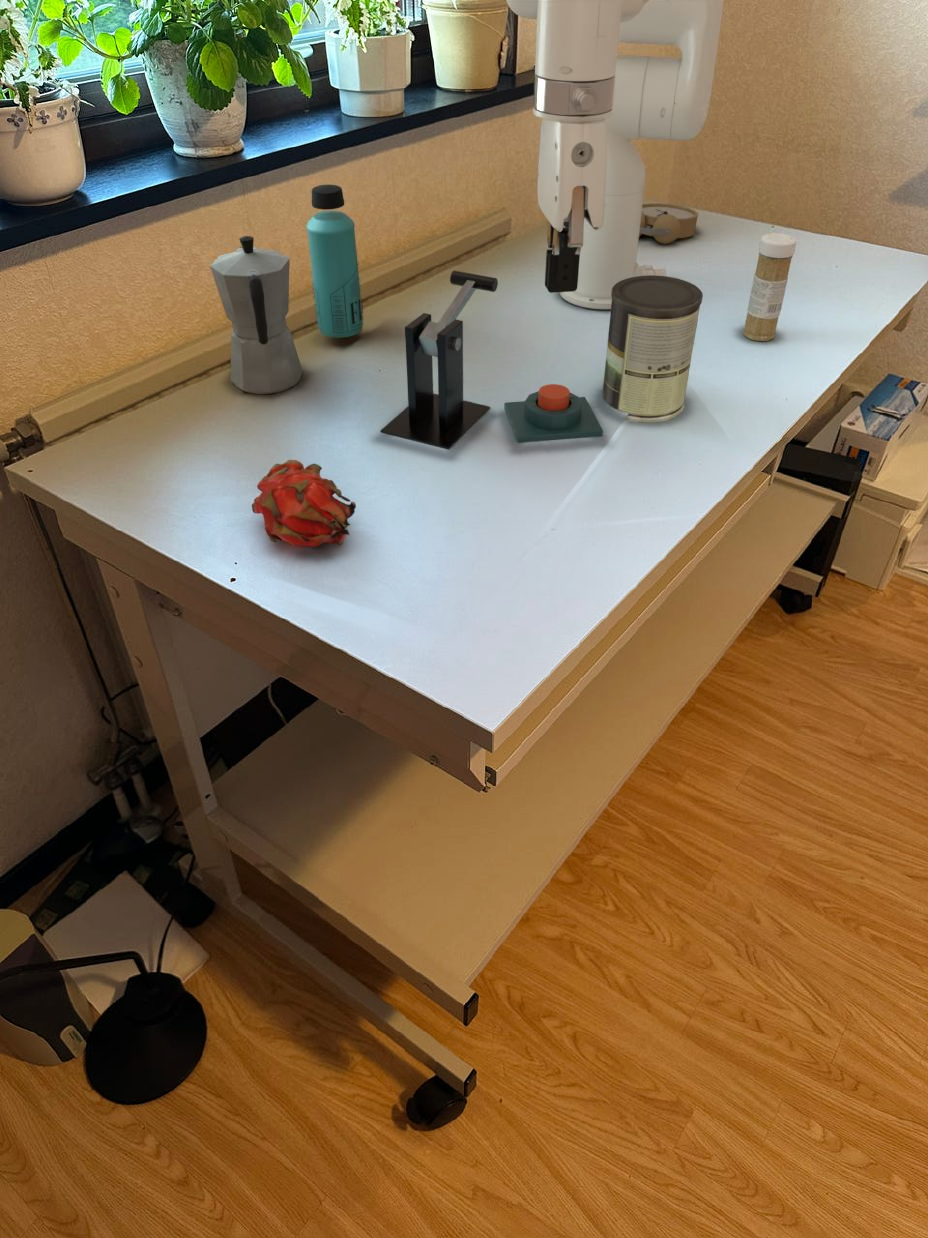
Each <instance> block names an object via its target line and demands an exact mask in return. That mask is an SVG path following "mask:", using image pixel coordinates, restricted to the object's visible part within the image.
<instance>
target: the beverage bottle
mask: <svg viewBox="0 0 928 1238" xmlns="http://www.w3.org/2000/svg"><path fill="white" fill-rule="evenodd" d="M344 206H345V198H344V192H343V187H341V186H339V185H337V184H320V185H317V186H313V188H312V189H311V207H312V208H314V209H316V210H317V209H318V210H322V211H319V212H317V213H314V215H313V216H312V217H311V218H310V219H309V220H308V222H307V223H306V227H305V229H306V231H307V240H308V250H309V258H310V266H311V267H310V268H311V272H310V273H311V282H312V290H313V292H312V294H313V296H312V297H313V298H312V299H314V307H315V308H314V309H315V311H314V312H315V316H316V318H315V320H316V326H317V329H318V330H319V332H320V333H321V334H322V335H323V336H326V337H329V338H339V339H340V338H348V337H352V336H355V335H358V334H359V333H361V331H363V326H364V324H365V322H364V319H365V318H364V316H363V314H364V308H363V305H362V294H361V292H362V287H361V286H362V285H361V283H360V275H359V274H360V273H359V264H360V263H359V259H358V250H357V244H356V242H357V241H356V232H355V226H356V225H355V222H354V220H353V219H352V218H351V217H350V216H349V215H348V214H346V213H345V212H343V211H339V210H337V209H340V208H342V207H344ZM323 210H324V211H323Z"/></svg>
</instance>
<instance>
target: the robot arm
mask: <svg viewBox="0 0 928 1238" xmlns="http://www.w3.org/2000/svg"><path fill="white" fill-rule="evenodd" d="M505 1H506V4H507V5H508V8H510V10H511V11H512V12H513V13H514V14H515V15H517V16H518V17H521V18H523V19H527V20H536V35H535V36H536V37H535V60H534V82H533V83H534V84H533V105H532V106H533V107H532V114H533V115H534V117H537V118H540V119H541V124H540V125H541V126H540V137H539V149H538V167H537V204H538V207H539V209H540V210H541V212H542V213H543V215H544V217H545V218H546V219H547V227H546V229H547V231H546V232H547V235H546V245H547V249H546V255H545V272H544V286H545V288H546V290H547V291H548V293H549V294H554V293H555V294H556V293H559V295H560V297H561V298H562V299H564V301H566V302H567V303H569V304H572V305H575V306H578V307H581V308H586V309H592V310H611V303H612V297H611V292H612V288H613V286H614V285H615V284H616V283H618V282H619V281H622V280H624V279H627V278H631V277H637V276H648V275H655V276H667V270H666V268H654V267H653V265H652V264H645V265H640V264H638V263H637V255H638V247H639V239H640V237H639V231H640V222H641V214H642V205H643V204H644V197H645V196H644V195H645V188H646V181H647V172H646V166H645V163H644V160H643V158H642V156H641V154H640V153H639V150H638V148H637V147H636V146H635V144H634V142H633V140H634V139H648V140H662V141H663V140H664V141H665V140H666V141H688V140H692V139H694V138H696V137H697V136H698V135H700V133H701V132H702V130H703V129H704V126H705V124H706V120H707V118H708V112H709V107H710V103H711V96H712V89H713V82H714V74H715V67H716V61H717V54H718V46H719V41H720V35H721V34H720V33H721V27H722V19H723V13H724V1H725V0H505ZM619 43H625V44H637V45H638V44H642V45H663V46H664V45H665V46H675V47H677V48H678V49H679V51H680V53H681V57H669V56H668V57H666V56H650V55H633V54H631V55H629V54H618V49H619Z"/></svg>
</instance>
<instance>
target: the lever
mask: <svg viewBox="0 0 928 1238" xmlns="http://www.w3.org/2000/svg"><path fill="white" fill-rule="evenodd" d="M449 279H450V280H449V281H450V284H451V285H454V286H458V287H459V286H460V287H461V288H460V290H459V291H458V292H457V294H456V295H455V297H454V299H453V300H452V301H451V303H450V304H449V306H448V307H447V309H446V310H445V312H444V313H443V315H442V316H441V317H440V319H439V320H438V322H436V321H432V320H431V321H429V323H428V324H427V326H426V327H425V329H424V330H423V331H422V333H421V334H420V336H419V341H420V346H421V350H422V354H425V355H430V356H432V357H435V358H438V350H437V334H438V333H439V332H440V331H441V330H443V329H444V328H445V327H446V326H448V325H449V324H450V323H451V322H453V321H454V320H455V319H456V320H457V318H458V317H459V315H460V314H461V312H462V310H463V309H464V308H465V306H466V305H467V303H468V302H469V300H470V299H471V298H472V296H473V295H474V293H475V291H476V290H481V291H485V292H490V293H495V292H496V291H497V289H498V285H499V280H498V278H497V277H493V276H488V275H487V276H486V275H481V274H477V273H476V274H475V273H471V272H466V271H460V270H452V271H451V273H450V276H449Z"/></svg>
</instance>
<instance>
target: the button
mask: <svg viewBox="0 0 928 1238" xmlns="http://www.w3.org/2000/svg"><path fill="white" fill-rule="evenodd" d="M538 391H539V393H538V406H539V407H540V408H542V409H543V410H549V411H561V410H564V409H567V408H568V406H569V396H570V393H571V391H570V389H569V388H568V387H566V386H565V385H562V384H555V383H550V384H545V385H543V386H541V387H540V388H539V389H538Z"/></svg>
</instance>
